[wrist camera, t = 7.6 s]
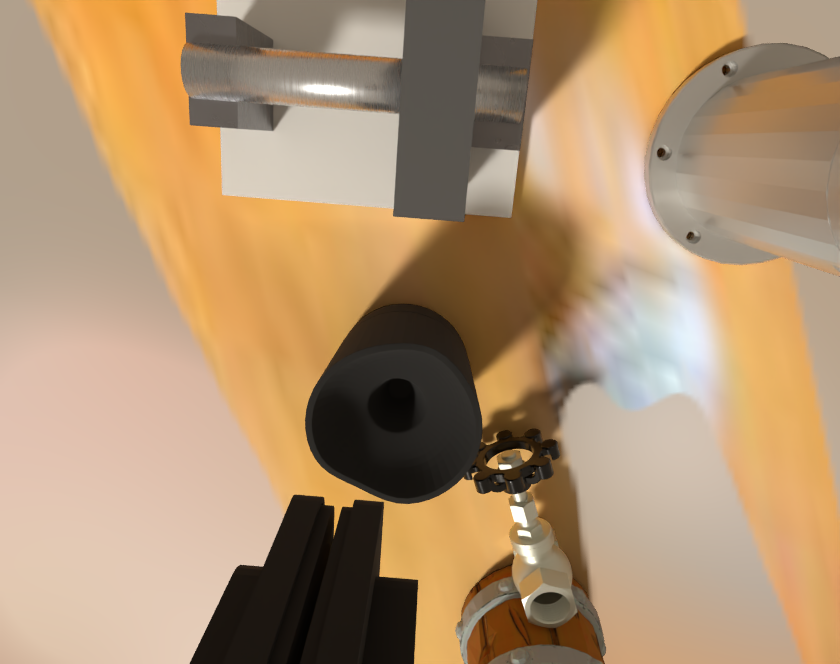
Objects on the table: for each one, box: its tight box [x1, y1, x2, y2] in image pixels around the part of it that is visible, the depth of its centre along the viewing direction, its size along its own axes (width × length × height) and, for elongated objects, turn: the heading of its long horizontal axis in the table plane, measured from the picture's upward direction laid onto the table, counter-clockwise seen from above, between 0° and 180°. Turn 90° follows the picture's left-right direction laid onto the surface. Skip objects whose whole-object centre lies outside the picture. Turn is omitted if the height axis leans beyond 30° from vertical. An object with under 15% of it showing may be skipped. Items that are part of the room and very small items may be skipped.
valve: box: [464, 429, 577, 628], centre depth 41 cm, size 7×7×12 cm
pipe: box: [181, 13, 533, 151], centre depth 31 cm, size 16×5×8 cm, turn 86°
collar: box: [393, 0, 485, 222], centre depth 28 cm, size 3×11×11 cm, turn 176°
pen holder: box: [305, 304, 482, 504], centre depth 36 cm, size 9×9×10 cm
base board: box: [217, 0, 537, 218], centre depth 35 cm, size 18×13×1 cm
